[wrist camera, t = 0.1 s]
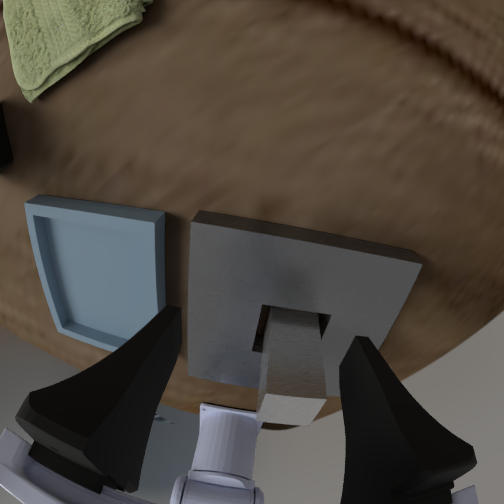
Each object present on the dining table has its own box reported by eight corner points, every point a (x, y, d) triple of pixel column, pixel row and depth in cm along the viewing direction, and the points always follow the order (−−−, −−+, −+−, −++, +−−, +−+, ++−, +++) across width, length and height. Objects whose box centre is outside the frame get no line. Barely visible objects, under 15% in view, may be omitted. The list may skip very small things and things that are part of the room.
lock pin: (304, 335, 24) (308, 425, 16) (264, 329, 24) (255, 420, 16) (316, 304, 23) (327, 399, 15) (272, 297, 23) (265, 393, 15)
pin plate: (344, 381, 27) (347, 396, 25) (192, 360, 27) (188, 375, 26) (412, 250, 19) (422, 264, 18) (199, 210, 20) (191, 221, 18)
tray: (169, 352, 27) (163, 366, 25) (66, 320, 27) (58, 331, 26) (165, 211, 20) (154, 222, 18) (38, 194, 20) (24, 202, 18)
